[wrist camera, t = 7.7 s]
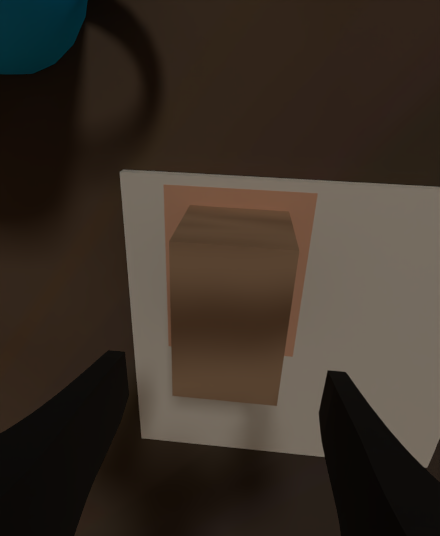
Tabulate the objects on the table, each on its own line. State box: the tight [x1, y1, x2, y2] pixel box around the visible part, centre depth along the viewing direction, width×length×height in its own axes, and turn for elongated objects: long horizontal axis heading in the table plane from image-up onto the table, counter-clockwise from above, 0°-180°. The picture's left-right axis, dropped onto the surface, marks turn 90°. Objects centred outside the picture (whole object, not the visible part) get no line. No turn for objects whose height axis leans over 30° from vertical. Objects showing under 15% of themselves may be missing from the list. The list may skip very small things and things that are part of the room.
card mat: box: [120, 170, 440, 467], centre depth 22 cm, size 20×19×1 cm
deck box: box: [169, 205, 299, 406], centre depth 18 cm, size 8×5×5 cm, turn 178°
